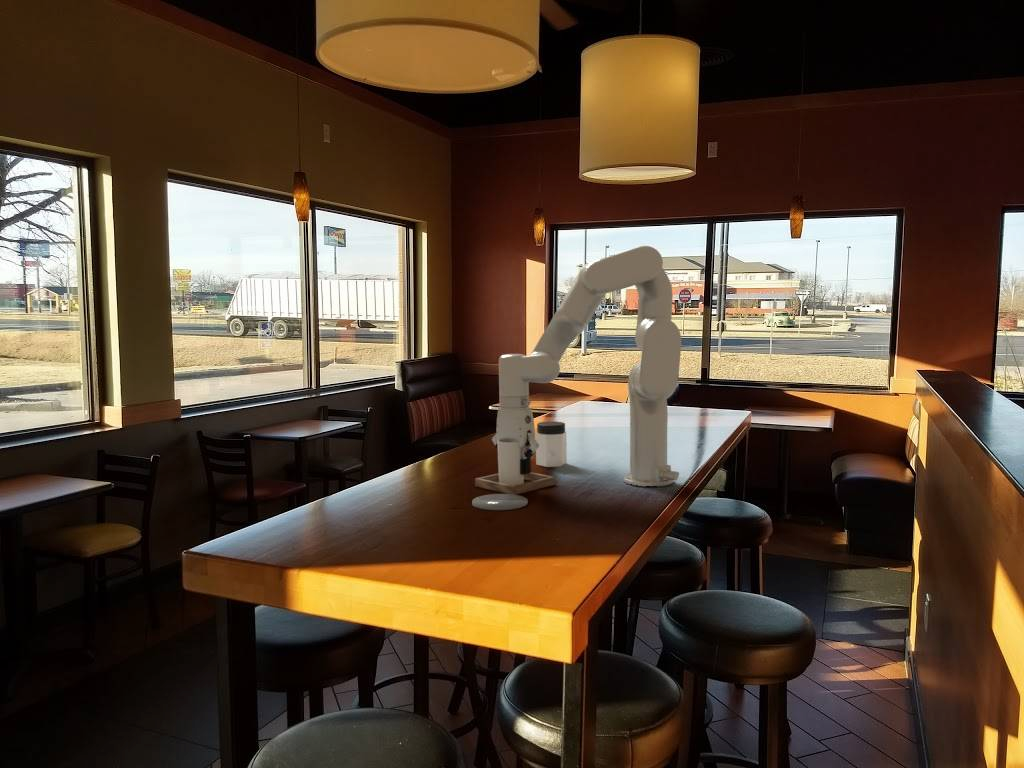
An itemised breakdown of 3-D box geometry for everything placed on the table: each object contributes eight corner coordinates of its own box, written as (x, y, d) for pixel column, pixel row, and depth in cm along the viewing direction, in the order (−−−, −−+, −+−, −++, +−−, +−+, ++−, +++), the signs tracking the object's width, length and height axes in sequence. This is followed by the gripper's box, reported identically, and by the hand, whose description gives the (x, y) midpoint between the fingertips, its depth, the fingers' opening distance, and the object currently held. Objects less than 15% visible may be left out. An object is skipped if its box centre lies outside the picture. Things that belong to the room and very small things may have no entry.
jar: (538, 467, 218) (538, 426, 217) (533, 462, 226) (533, 421, 225) (569, 466, 219) (569, 425, 218) (563, 460, 227) (563, 420, 226)
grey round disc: (539, 502, 179) (539, 500, 179) (499, 513, 170) (499, 511, 170) (500, 493, 188) (500, 491, 188) (460, 503, 179) (460, 501, 179)
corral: (554, 484, 197) (554, 476, 197) (513, 495, 186) (513, 487, 186) (516, 476, 207) (516, 469, 207) (475, 486, 196) (474, 478, 196)
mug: (516, 490, 191) (515, 443, 190) (493, 488, 194) (492, 441, 193) (535, 482, 199) (534, 437, 198) (512, 480, 203) (512, 435, 202)
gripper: (549, 403, 191) (550, 474, 193) (500, 398, 203) (502, 465, 205) (528, 406, 186) (529, 479, 187) (480, 401, 198) (481, 469, 200)
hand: (515, 471), depth 196 cm, fingers closed on mug, 6 cm apart
